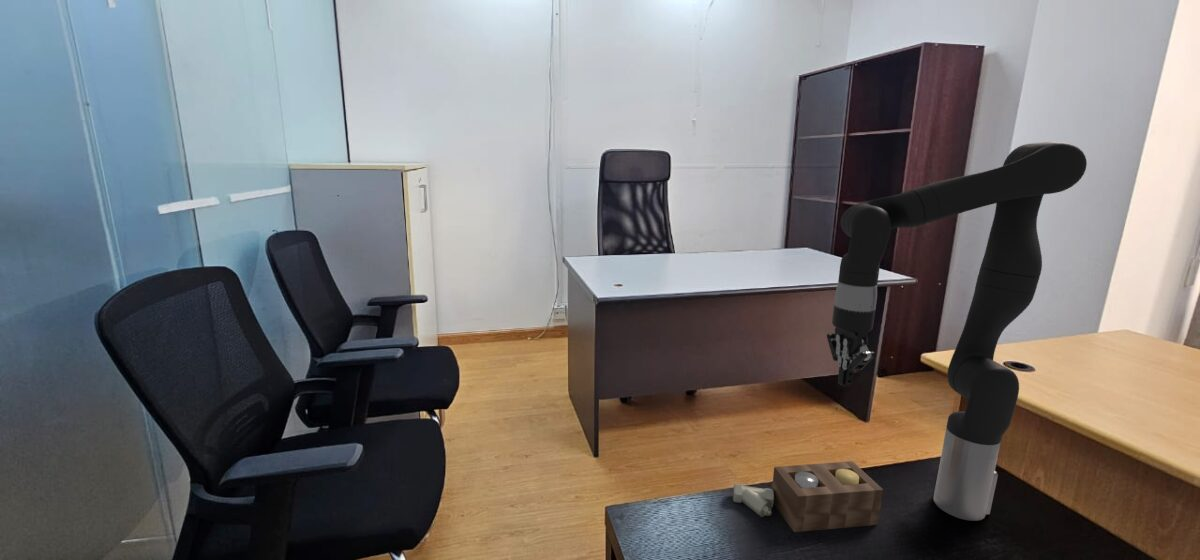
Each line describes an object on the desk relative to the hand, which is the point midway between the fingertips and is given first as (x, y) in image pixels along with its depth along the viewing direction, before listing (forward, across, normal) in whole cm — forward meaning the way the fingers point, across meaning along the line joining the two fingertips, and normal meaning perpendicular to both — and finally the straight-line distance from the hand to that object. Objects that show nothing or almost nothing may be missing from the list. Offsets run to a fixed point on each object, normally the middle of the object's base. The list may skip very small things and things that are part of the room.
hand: (844, 384), depth 108 cm
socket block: (+26, -5, +5) cm, 27 cm away
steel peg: (+26, -5, +10) cm, 28 cm away
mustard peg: (+26, -5, +1) cm, 26 cm away
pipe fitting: (+26, -2, +19) cm, 33 cm away
